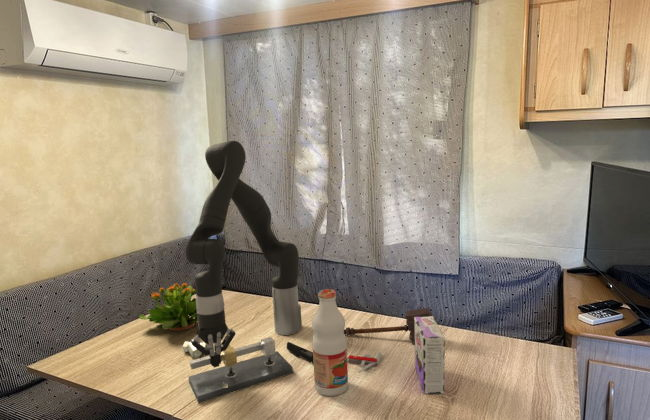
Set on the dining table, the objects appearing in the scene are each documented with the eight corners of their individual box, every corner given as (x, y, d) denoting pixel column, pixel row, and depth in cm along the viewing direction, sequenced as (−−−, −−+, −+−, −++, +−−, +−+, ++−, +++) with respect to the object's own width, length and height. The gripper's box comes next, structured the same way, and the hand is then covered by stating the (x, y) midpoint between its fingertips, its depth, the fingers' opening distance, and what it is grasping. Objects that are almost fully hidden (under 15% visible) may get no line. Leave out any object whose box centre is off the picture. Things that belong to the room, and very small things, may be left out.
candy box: (414, 368, 130) (413, 315, 128) (434, 367, 130) (433, 315, 127) (423, 394, 117) (422, 336, 114) (445, 394, 116) (445, 336, 114)
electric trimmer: (293, 348, 148) (292, 339, 147) (324, 363, 136) (323, 353, 136) (284, 352, 145) (283, 343, 145) (315, 367, 134) (314, 358, 133)
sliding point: (230, 363, 133) (228, 341, 132) (238, 373, 127) (236, 351, 126) (220, 366, 132) (218, 344, 131) (227, 377, 125) (225, 354, 124)
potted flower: (191, 309, 186) (187, 269, 184) (229, 320, 173) (225, 277, 170) (137, 331, 166) (132, 287, 164) (175, 345, 153) (170, 297, 150)
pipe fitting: (200, 361, 142) (210, 350, 148) (199, 350, 141) (208, 339, 147) (178, 360, 143) (188, 349, 150) (176, 349, 143) (187, 338, 149)
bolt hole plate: (277, 356, 141) (277, 350, 141) (292, 373, 130) (292, 366, 130) (189, 382, 128) (188, 376, 128) (198, 403, 117) (197, 395, 117)
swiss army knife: (335, 372, 130) (334, 366, 130) (348, 350, 143) (348, 345, 143) (372, 378, 126) (372, 371, 126) (382, 355, 139) (382, 349, 139)
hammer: (436, 343, 142) (430, 314, 141) (342, 352, 152) (335, 326, 151) (437, 334, 149) (430, 306, 148) (346, 344, 159) (340, 318, 158)
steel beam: (269, 354, 138) (267, 333, 137) (276, 362, 132) (274, 340, 131) (191, 376, 126) (189, 354, 125) (195, 386, 121) (193, 362, 120)
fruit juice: (320, 376, 128) (316, 285, 124) (351, 380, 125) (348, 287, 121) (310, 394, 119) (304, 296, 115) (343, 399, 116) (339, 299, 112)
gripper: (229, 299, 129) (234, 354, 131) (183, 309, 122) (189, 366, 125) (237, 307, 122) (242, 365, 125) (189, 318, 116) (195, 378, 119)
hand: (215, 365), depth 125 cm, fingers closed
